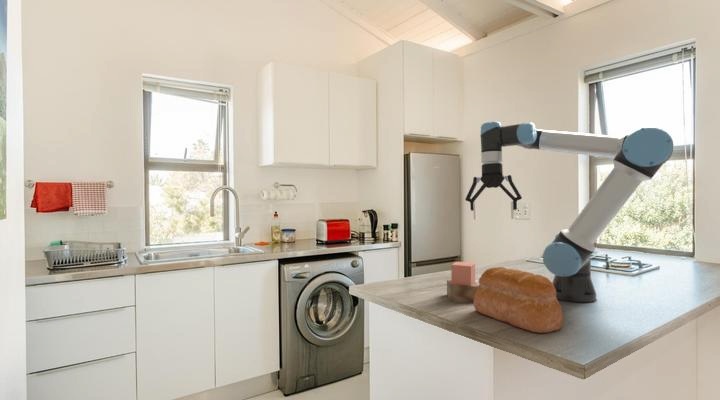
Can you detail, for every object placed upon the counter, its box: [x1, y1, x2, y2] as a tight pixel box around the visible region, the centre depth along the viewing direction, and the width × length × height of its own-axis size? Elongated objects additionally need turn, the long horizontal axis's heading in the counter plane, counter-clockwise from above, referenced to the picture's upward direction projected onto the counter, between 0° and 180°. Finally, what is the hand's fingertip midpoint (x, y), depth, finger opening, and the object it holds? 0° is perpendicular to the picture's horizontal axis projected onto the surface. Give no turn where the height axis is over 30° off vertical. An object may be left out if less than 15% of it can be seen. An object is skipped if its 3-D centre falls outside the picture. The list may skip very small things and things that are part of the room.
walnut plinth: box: [446, 279, 479, 303], centre depth 144 cm, size 10×10×6 cm
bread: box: [473, 266, 564, 334], centre depth 120 cm, size 14×26×15 cm, turn 27°
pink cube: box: [450, 261, 476, 286], centre depth 144 cm, size 7×7×7 cm
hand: (493, 219), depth 149 cm, fingers open, 13 cm apart
